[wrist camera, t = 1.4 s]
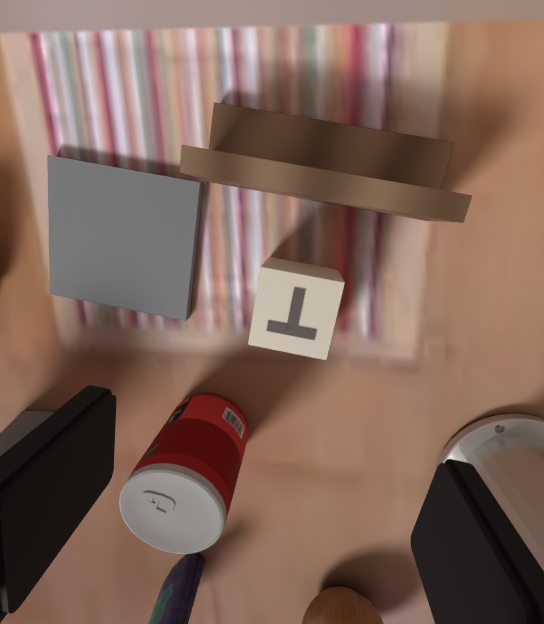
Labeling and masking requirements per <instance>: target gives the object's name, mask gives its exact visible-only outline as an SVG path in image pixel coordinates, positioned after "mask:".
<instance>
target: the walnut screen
mask: <svg viewBox="0 0 544 624" xmlns="http://www.w3.org/2000/svg"><path fill="white" fill-rule="evenodd" d="M453 145H454V142H448V141H442V140H436V139H430V138H424V137H418V136H412V135H406V134H400V133H394V132H388V131H382V130H376V129H370V128H365V127H359V126H353V125H347V124H341V123H335V122H329V121H323V120H317V119H311V118H305V117H299V116H293V115H287V114H281V113H275V112H269V111H263V110H257V109H251V108H245V107H239V106H233V105H227V104H221V103H215V102H214V107H213V116H212V126H211V135H210V144H209V149H203V148H197V147H191V146H186V145H182V149H181V161H180V172H181V173H184V174H187V175H190V176H193V177H196V178H199V179H202V180H205V181H208V182H213V183H218V184H224V185H230V186H235V187H241V188H246V189H252V190H258V191H263V192H269V193H274V194H280V195H285V196H291V197H297V198H302V199H308V200H313V201H319V202H325V203H330V204H336V205H341V206H347V207H353V208H358V209H364V210H369V211H375V212H380V213H386V214H392V215H397V216H403V217H408V218H414V219H420V220H425V221H442V222H460V223H464V220H465V216H466V213H467V210H468V207H469V204H470V201H471V198H472V195H467V194H461V193H455V192H449V191H444V190H440V188H441V185H442V181H443V178H444V175H445V171H446V168H447V165H448V161H449V158H450V155H451V151H452V148H453Z"/></svg>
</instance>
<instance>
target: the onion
mask: <svg viewBox="0 0 544 624" xmlns="http://www.w3.org/2000/svg"><path fill="white" fill-rule="evenodd" d="M302 624H384V623H383V621H382V619H381V617H380V615H379V613H378V612H377V610H376V609H375V608H374V606H373V602H372V601H371V600H368V599H366V598H365V597H364V596H362V595H361V594H359V593H357V592H356V591H354V590H352V589H350V588H347V587H329V588H327V589H324V590H323V591H321V593H320V594H318V595H317V596H316V597H315V598H314V599H313V601H312V602H311V603H310V605H309V607H308V608H307V610H306V612H305V615H304V617H303V621H302Z"/></svg>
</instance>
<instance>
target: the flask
mask: <svg viewBox="0 0 544 624" xmlns="http://www.w3.org/2000/svg"><path fill="white" fill-rule="evenodd" d="M204 557H205V556H203V555H201V554H200V553H198V552H195V553H190V554H187V555H185V556H184V557H183V558H182V559H180V560H179V561H178V563H176V564H175V566H174V567H173V568H172V569H171V572H170V573H169V575H168V576H167V579H166V580H165V582H164V584H163V586H162V588H161V590H160V593H159V597H158V599H157V602H156V605H155V607H154V610H153V613H152V615H151V618H150V620H149V623H148V624H188V621H189V618H190V614H191V611H192V607H193V604H194V600H195V596H196V593H197V588H198V585H199V582H200V578H201V574H202V571H203V567H204V564H205V558H204Z"/></svg>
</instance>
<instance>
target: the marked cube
mask: <svg viewBox="0 0 544 624" xmlns="http://www.w3.org/2000/svg"><path fill="white" fill-rule="evenodd" d="M344 284H345V282H344V280H343V279H342V277H341V275H340V273H339V271H338V269H333V268H327V267H322V266H317V265H311V264H306V263H301V262H295V261H290V260H285V259H279V258H274V257H269V258H268V259H267V260H266V261H265V262H264V264H263V265H262V266H261V268H260V274H259V280H258V286H257V292H256V298H255V304H254V311H253V317H252V323H251V329H250V335H249V341H248V345H253V346H258V347H263V348H268V349H273V350H278V351H283V352H288V353H293V354H298V355H303V356H308V357H313V358H318V359H323V360H326V359H327V355H328V351H329V347H330V342H331V338H332V334H333V330H334V326H335V322H336V317H337V313H338V309H339V305H340V301H341V297H342V292H343V288H344Z"/></svg>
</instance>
